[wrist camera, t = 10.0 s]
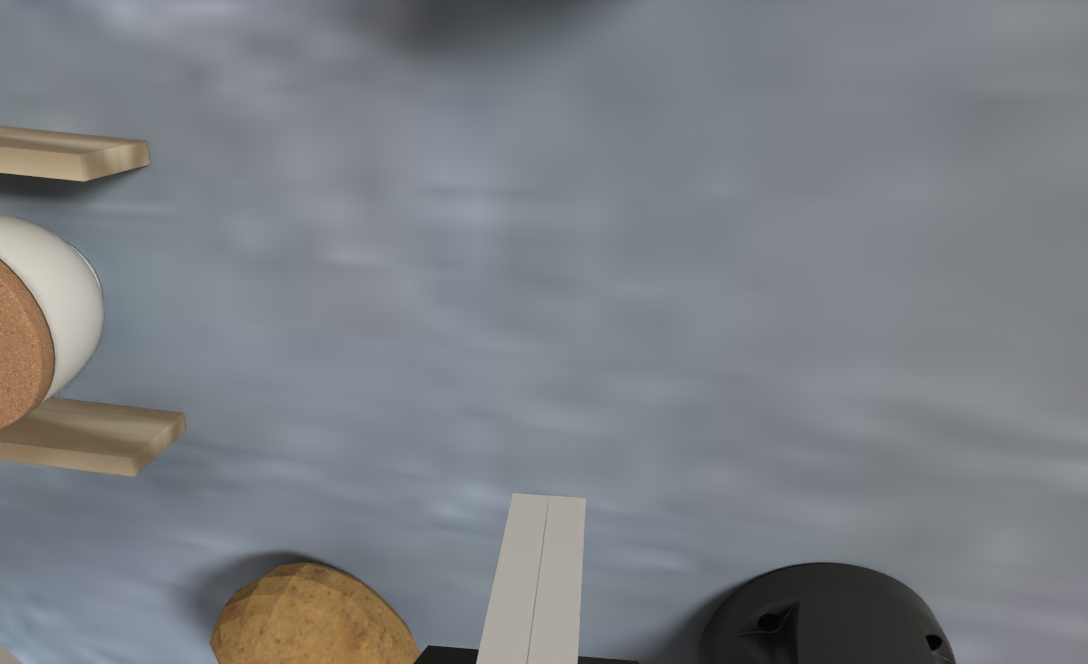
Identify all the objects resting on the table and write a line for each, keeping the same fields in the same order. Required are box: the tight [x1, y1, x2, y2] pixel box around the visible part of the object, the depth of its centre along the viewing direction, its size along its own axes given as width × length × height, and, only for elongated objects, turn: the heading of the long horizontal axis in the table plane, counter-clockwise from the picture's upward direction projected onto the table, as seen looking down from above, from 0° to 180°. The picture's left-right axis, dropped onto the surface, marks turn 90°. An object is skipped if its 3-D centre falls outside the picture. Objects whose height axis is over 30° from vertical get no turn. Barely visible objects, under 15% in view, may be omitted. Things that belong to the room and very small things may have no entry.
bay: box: [0, 126, 186, 477], centre depth 37 cm, size 17×15×5 cm
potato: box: [210, 563, 421, 664], centre depth 43 cm, size 10×14×8 cm
